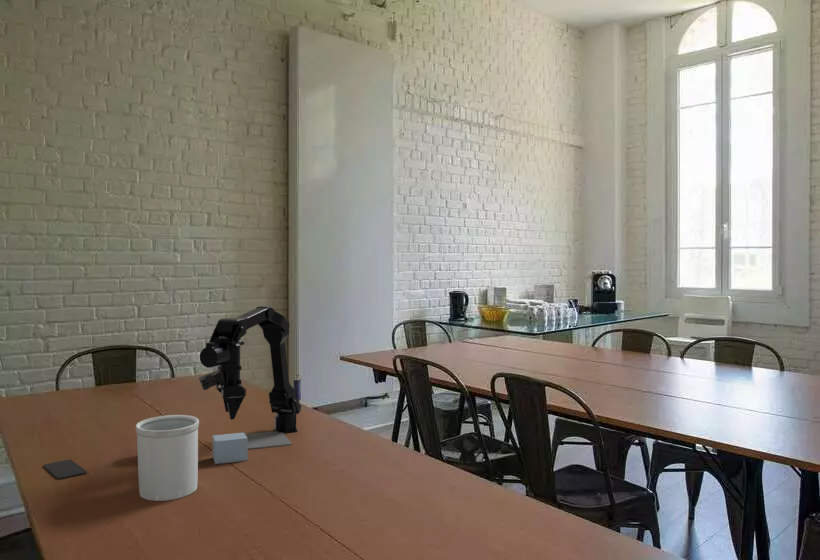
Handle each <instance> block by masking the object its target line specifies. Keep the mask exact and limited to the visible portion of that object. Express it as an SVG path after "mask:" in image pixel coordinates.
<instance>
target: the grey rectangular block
mask: <svg viewBox="0 0 820 560" xmlns="http://www.w3.org/2000/svg"><path fill="white" fill-rule="evenodd" d="M245 434H246V433H245V432H236V433H224V434H215V435H214V434H213V435H212V460H213V462H214V465H219V464H220V463H221V464H227V463H228V464H230V463H235V462H236V463H237V462H245V461H246V462H247V461H248V459H249V457H248V455H249V454H248V452H249V451H248V438H247V436H246V435H245ZM221 464H220V465H221Z"/></svg>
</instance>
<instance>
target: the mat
mask: <svg viewBox="0 0 820 560" xmlns="http://www.w3.org/2000/svg"><path fill="white" fill-rule="evenodd" d="M245 435H246V436H247V438H248V450H249V451H250V450H256V449H266V448H267V449H268V448H275V447H276V448H277V447H284V446H285V447H286V446H292V445H293V443H292V441H291V440H290V439H289V438H288V437H287V436H286V435H285V433H283V432H280V433H279V432H278V431H276V430H275V431H274V430H273V431H264V432H263V431H262V432H254V433H253V432H252V433H245Z"/></svg>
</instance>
